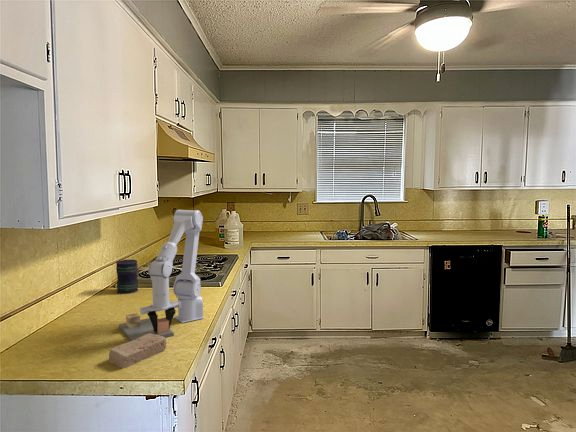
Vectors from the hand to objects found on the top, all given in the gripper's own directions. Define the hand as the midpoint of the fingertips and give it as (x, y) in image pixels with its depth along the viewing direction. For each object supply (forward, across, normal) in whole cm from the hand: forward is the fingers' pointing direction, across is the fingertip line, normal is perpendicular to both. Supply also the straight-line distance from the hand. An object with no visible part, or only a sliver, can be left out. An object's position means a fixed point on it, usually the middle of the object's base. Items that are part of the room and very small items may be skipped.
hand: (161, 329), depth 152 cm
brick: (+2, -12, -14) cm, 18 cm away
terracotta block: (0, 0, 0) cm, 0 cm away
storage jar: (+2, +5, +64) cm, 64 cm away
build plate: (+2, -4, +6) cm, 7 cm away
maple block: (0, -7, +11) cm, 13 cm away
